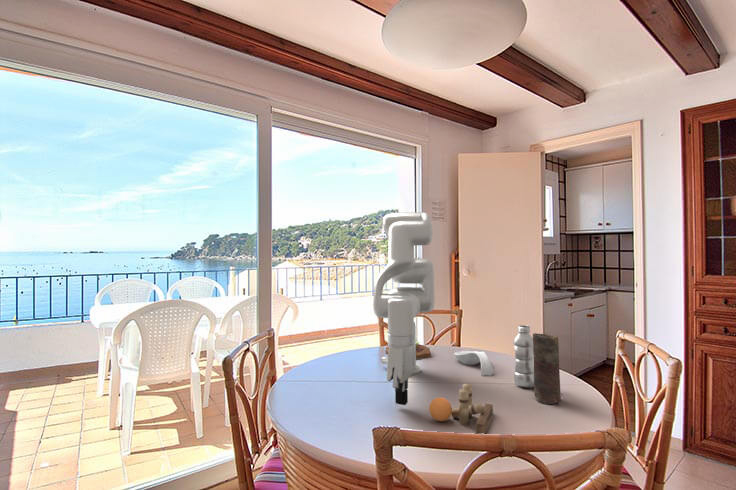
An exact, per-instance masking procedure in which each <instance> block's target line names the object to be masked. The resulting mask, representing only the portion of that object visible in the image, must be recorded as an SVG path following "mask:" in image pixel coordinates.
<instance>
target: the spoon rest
mask: <svg viewBox="0 0 736 490" xmlns="http://www.w3.org/2000/svg"><path fill="white" fill-rule="evenodd" d="M454 356H455V358H456V360H458V361H459V362H461V363H462V364H464V365H469V366H472V365H473V366H475V365H477V364H479V363H480V376H481V377H486V376H487V377H488V376H494V369H493V367H492V366H493V365H492V363H491V361H490V359H489V357H488V355H487V354H486V352H485V351H475V350H465V351H464V350H463V351H461V350H460V351H456V352H454Z"/></svg>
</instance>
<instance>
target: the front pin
mask: <svg viewBox="0 0 736 490" xmlns="http://www.w3.org/2000/svg"><path fill="white" fill-rule="evenodd" d="M481 413H484V404H483V403H482V402H479V403H475V404H473V403H472V405H469V415H472V416H473V415H474V416H475V415H479V414H481ZM451 417H452V419H455V418H456V419H457V418H459V407H452V413H451Z"/></svg>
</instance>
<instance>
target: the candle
mask: <svg viewBox="0 0 736 490" xmlns="http://www.w3.org/2000/svg"><path fill="white" fill-rule="evenodd" d="M532 338H533V367H534V386H533V391H534V392H533V394H534V395H533V396H534V399H537V401H538V402H539V403H542V404H545V405H546V404H547V405H548V404H551V405H554V404H556V403H559V402H560V401H561V400H562V399H561V398H562V397H561V396H562V395H561V377H560V354H559V353H560V352H559V351H560V348H559V347H560V346H559V336H558V335H549V334H546V333H536V332H535V333H532Z"/></svg>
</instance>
